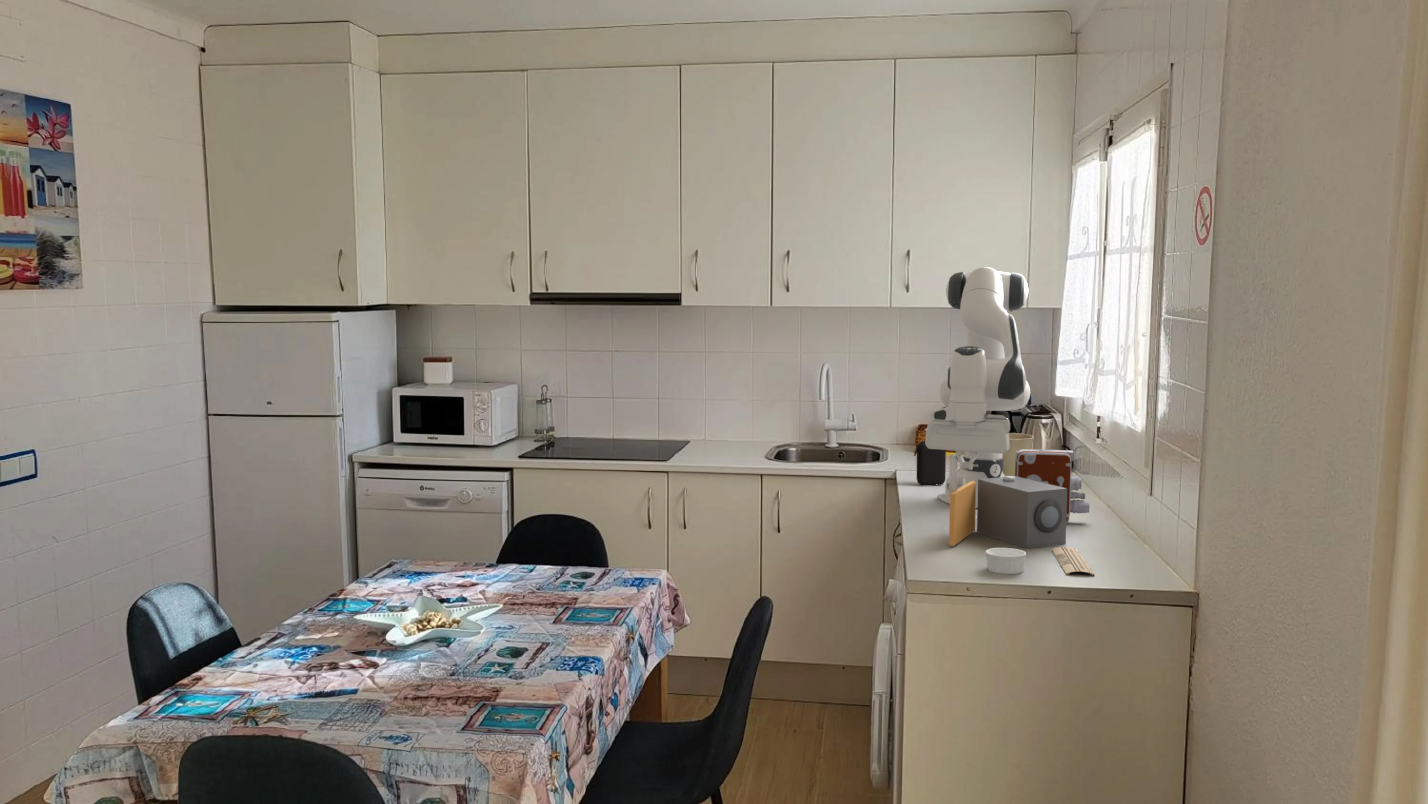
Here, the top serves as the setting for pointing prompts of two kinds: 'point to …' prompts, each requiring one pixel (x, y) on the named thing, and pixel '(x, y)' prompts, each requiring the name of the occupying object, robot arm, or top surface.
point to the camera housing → (1022, 511)
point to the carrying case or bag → (930, 465)
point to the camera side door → (960, 505)
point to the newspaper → (1071, 560)
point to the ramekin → (1005, 560)
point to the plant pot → (1016, 444)
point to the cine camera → (1052, 474)
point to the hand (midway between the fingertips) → (966, 469)
